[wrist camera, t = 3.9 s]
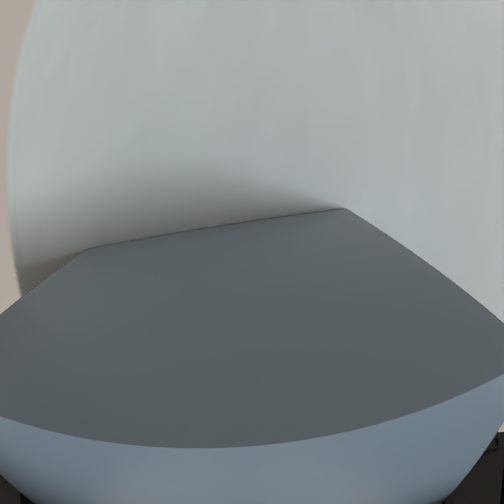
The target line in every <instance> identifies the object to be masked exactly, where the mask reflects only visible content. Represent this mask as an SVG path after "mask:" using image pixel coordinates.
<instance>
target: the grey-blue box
mask: <svg viewBox="0 0 504 504" xmlns="http://www.w3.org/2000/svg"><path fill="white" fill-rule="evenodd" d="M503 422H504V323H503V322H502V321H501V320H499V319H498V318H497V317H496V316H495V315H494V314H492V313H491V312H490V311H489V310H488V309H486V308H485V307H484V306H483V305H482V304H480V303H479V302H478V301H477V300H475V299H474V298H473V297H472V296H470V295H469V294H468V293H467V292H465V291H464V290H463V289H462V288H460V287H459V286H458V285H456V284H455V283H454V282H453V281H451V280H450V279H449V278H447V277H446V276H445V275H443V274H442V273H441V272H439V271H438V270H437V269H435V268H434V267H433V266H431V265H430V264H428V263H427V262H426V261H424V260H423V259H422V258H420V257H419V256H417V255H416V254H414V253H413V252H412V251H410V250H409V249H407V248H406V247H404V246H403V245H402V244H400V243H399V242H397V241H396V240H394V239H393V238H391V237H390V236H388V235H387V234H385V233H384V232H382V231H381V230H379V229H378V228H376V227H375V226H373V225H372V224H370V223H369V222H367V221H365V220H364V219H362V218H361V217H359V216H358V215H356V214H354V213H353V212H351V211H350V210H348V209H338V210H330V211H322V212H314V213H307V214H299V215H292V216H285V217H277V218H270V219H263V220H257V221H250V222H243V223H236V224H230V225H223V226H217V227H211V228H204V229H198V230H192V231H186V232H180V233H174V234H168V235H162V236H156V237H150V238H145V239H139V240H133V241H128V242H122V243H117V244H111V245H106V246H101V247H95V248H90V249H86V250H85V251H83V252H82V253H81V254H79V255H78V256H76V257H75V258H73V259H72V260H71V261H69V262H68V263H66V264H65V265H64V266H62V267H61V268H59V269H58V270H57V271H55V272H54V273H53V274H51V275H50V276H49V277H47V278H46V279H45V280H43V281H42V282H41V283H39V284H38V285H37V286H35V287H34V288H33V289H31V290H30V291H29V292H28V293H26V294H25V295H24V296H23V297H21V298H20V299H19V300H18V301H17V302H15V303H14V304H13V305H12V306H10V307H9V308H8V309H7V310H5V311H4V312H3V313H2V314H1V315H0V474H1V475H2V476H3V477H4V478H5V479H6V480H7V481H8V482H9V483H11V484H12V485H13V486H14V487H15V488H16V489H17V490H18V491H20V492H21V493H22V494H23V495H24V496H25V497H27V498H28V499H29V500H30V501H32V502H33V503H34V504H442V503H443V502H444V501H445V500H446V499H447V498H448V496H449V495H450V494H451V493H452V492H453V491H454V490H455V488H456V487H457V486H458V485H459V484H460V483H461V481H462V480H463V479H464V478H465V476H466V475H467V474H468V473H469V471H470V470H471V469H472V468H473V466H474V465H475V464H476V462H477V461H478V460H479V458H480V457H481V455H482V454H483V453H484V451H485V450H486V448H487V447H488V445H489V444H490V442H491V441H492V439H493V438H494V436H495V435H496V433H497V432H498V430H499V428H500V427H501V425H502V424H503Z"/></svg>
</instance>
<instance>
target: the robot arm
mask: <svg viewBox="0 0 504 504" xmlns="http://www.w3.org/2000/svg"><path fill="white" fill-rule="evenodd" d="M0 504H34V503H33V502H32V501H30V500H29V499H28V498H27V497H25V496H24V495H23V494H22V493H21V492H20V491H18V490H17V489H16V488H15V487H14V486H13V485H12V484H11V483H9V482H8V481H7V480H6V479H5V478H4V477H3V476H2V475H1V474H0ZM442 504H504V432H497V433H496V435H495V436H494V438H493V439H492V441H491V442H490V444H489V445H488V447H487V448H486V450H485V451H484V453H483V454H482V455H481V457H480V458H479V460H478V461H477V462H476V464H475V465H474V466H473V468H472V469H471V470H470V471H469V473H468V474H467V475H466V476H465V478H464V479H463V480H462V481H461V483H460V484H459V485H458V486H457V487H456V488H455V490H454V491H453V492H452V493H451V494H450V495H449V496H448V498H447V499H446V500H445V501H444V502H443V503H442Z"/></svg>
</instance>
